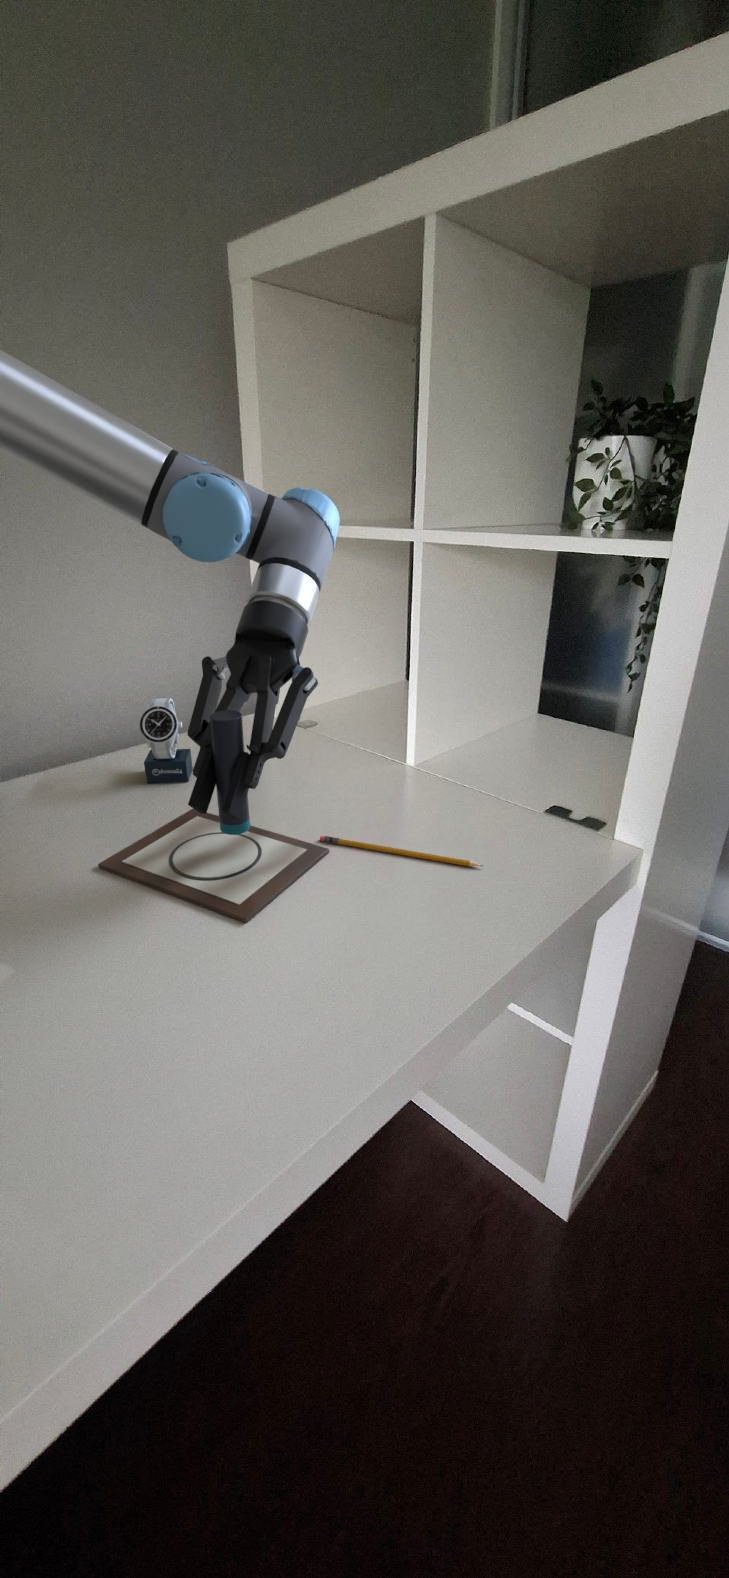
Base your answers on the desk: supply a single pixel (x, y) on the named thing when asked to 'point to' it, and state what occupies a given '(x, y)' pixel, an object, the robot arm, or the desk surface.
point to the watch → (164, 744)
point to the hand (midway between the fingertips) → (213, 811)
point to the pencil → (398, 851)
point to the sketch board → (216, 864)
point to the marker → (228, 765)
